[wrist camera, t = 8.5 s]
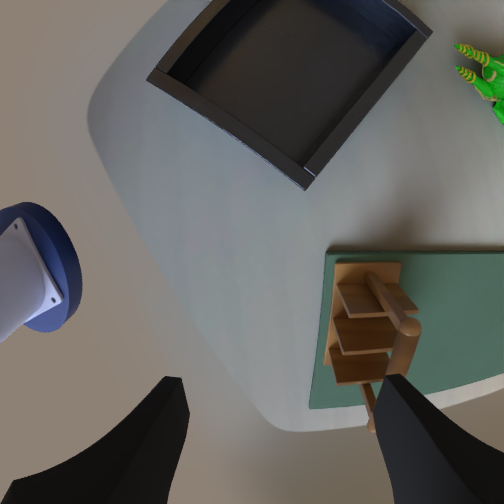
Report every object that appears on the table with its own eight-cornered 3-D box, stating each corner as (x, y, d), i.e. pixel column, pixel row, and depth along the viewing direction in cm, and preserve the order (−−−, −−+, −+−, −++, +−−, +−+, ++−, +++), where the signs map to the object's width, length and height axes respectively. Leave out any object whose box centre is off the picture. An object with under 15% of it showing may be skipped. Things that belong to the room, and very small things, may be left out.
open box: (297, 183, 17) (304, 191, 13) (169, 92, 15) (145, 80, 12) (406, 49, 13) (433, 31, 10) (286, -33, 12) (289, -64, 8)
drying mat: (308, 404, 23) (309, 409, 22) (325, 251, 18) (327, 254, 18) (547, 351, 21) (549, 354, 20) (581, 251, 16) (584, 252, 16)
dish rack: (378, 358, 20) (409, 431, 13) (322, 362, 20) (338, 442, 13) (399, 260, 17) (457, 319, 10) (334, 261, 18) (370, 328, 11)
